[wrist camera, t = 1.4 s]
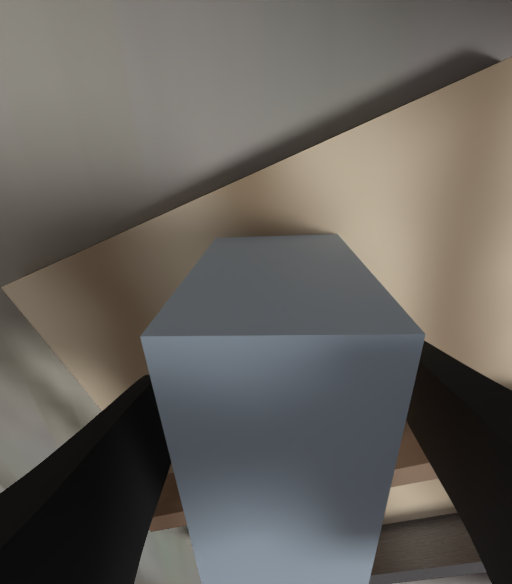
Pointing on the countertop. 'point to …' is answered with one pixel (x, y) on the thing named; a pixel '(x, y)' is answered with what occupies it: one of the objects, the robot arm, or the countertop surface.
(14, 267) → the countertop surface
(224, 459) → the carton
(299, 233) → the shelf
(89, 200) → the countertop surface
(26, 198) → the countertop surface
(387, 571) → the price rail
